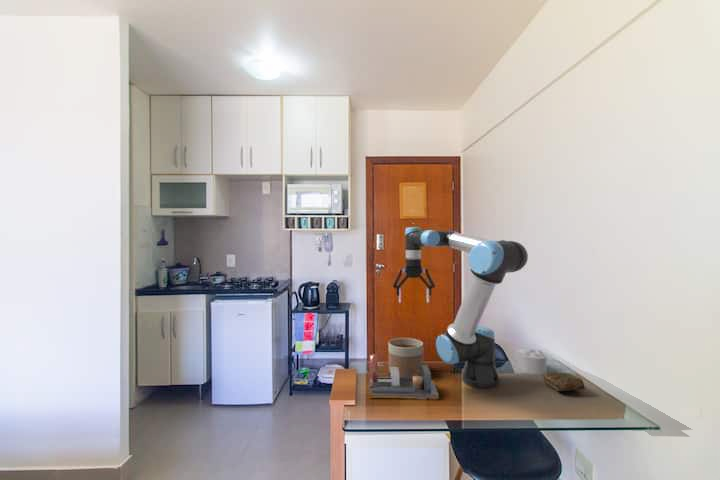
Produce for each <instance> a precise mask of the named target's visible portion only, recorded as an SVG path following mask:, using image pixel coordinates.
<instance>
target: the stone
mask: <svg viewBox="0 0 720 480" xmlns="http://www.w3.org/2000/svg"><path fill="white" fill-rule="evenodd" d="M542 376H543V379H544V383H545V384H546V385H548V386H550V388H552V389H554V390H555V391H557V392H564V391H569V392H570V391H581V390H585V389H586V387H585V383H584V380H583V379H582V378H580V377H578V376H574V375H573V374H570V373H567V372H557V371H550V372H547V373H546V374H542Z"/></svg>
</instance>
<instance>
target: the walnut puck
mask: <svg viewBox="0 0 720 480" xmlns="http://www.w3.org/2000/svg"><path fill="white" fill-rule="evenodd" d="M412 380H413V387H414V388H416V389H421V388H423V377H421V376H413V378H412Z"/></svg>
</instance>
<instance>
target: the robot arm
mask: <svg viewBox="0 0 720 480" xmlns="http://www.w3.org/2000/svg"><path fill="white" fill-rule="evenodd" d="M404 237H405V238H404V239H405V241H404V242H405V244H404V245H405V258H406V260H405V268H399V270H398V274H397V277H396V278H395V281H394V283H393V285H392V287H393V289H394V288H395V289H396V296H397V297H398V303H400V304H401V303H402V294H401V293H402V289H401V287H402V286H403V284H405V282H406V281H407V280H408V279H413V278H414V279H418V278H419V279H420V280H421V282H423V283H424V285H425V286H426V287H427V288H426V302H427V303H430V296H432V289H433V288H434V289H435V288H436V285H435V283H434V282H433V279H432V278H431V275H430V274H429V269H428V268H422V247H425V248H426V247H428V248H429V247H430V248H433V247H447V248H451V249H454V250H458V251H461V252H465V253H469V255H468V261H469V263H468V265H469V267H470V273H471V275H472V277H471V280H469V284H468V286H467V289H466V291H465V294H464V297H463V299H462V301H461V304H460V306H459V309H458V311H457V314H456V317H455V319H454V321H453V323H450V324H449V325H448V326H447V328H446V331H445V333H444V334H443V333H442V334H440V335H438V336H437V338H436V340H435V347H436V352H437V353H438V354H437V355H438V356H439V357H440V359H441V360H442V361H443V362H444V363H445V364H447V365H454V364H455V365H457V364H460V363H464V362H465V364H464V366H463V371H462V372H461V380H462V382H463V383H464V384H466V385H469V386H471V387H474V388H477V389H478V388H479V389H494V388H497V387H499V386H500V376H499V373H498V371H497V367H496V356H495V355H496V351H495V350H496V349H495V346H496V345H495V340H496V339H495V332H494V330H493V329H491V328H490V327H489V328H488V327H485V326H480V325H479V324H480V321H481V320H482V318H483V317H482V316H483V314H484V312H485V310H486V308H487V305H488V304H489V301H490V299H491V297H492V295H493V292H494V289H495V287H496V286H497V285H501V284H502V282H503V280H504V278H505V275H506V274H508V273H515V272H518V271H521V270H522V269H523V268H524V267H525V266H526V264H527V262H528V259H529V256H528V255H529V254H528V251H527V249H526V247H525V246H524V245H522V244H521V243H520V242H518V241H513V240H504V239H502V240H492V239H487V238H483V237H479V236H475V235H469V234H465V233H461V232H460V233H459V232H458V231H456V230H435V229H434V230H433V229H426V230H422V229H421V227H418V226H416V227H415V226H412V227H411V226H409V227H406V228H405V233H404ZM404 273H405V274H406V275H405V276H404V277H403V278H402V279H401V277H402V275H403V274H404ZM422 273H423V274H425V275H426V278H427V280H428V282H429V283H428V282H427V281H426V279H425V278H424V277H423V276H422V275H421V274H422ZM400 279H401V280H400ZM399 281H400V282H399Z"/></svg>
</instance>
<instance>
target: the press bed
mask: <svg viewBox="0 0 720 480" xmlns="http://www.w3.org/2000/svg"><path fill="white" fill-rule="evenodd" d="M421 377H423V388H421V389H416V388H414V387H413V378H411V377H399V384H400V387H370V386H369V395H375V396H400V397H417V398H429V397H432V398H433V397H436V398H439V399H440V397H439V395H440V394H439V392H438V390H437V388H436V385H435V382H434V380H433V379H432V373H431V371H430V368H429V366H428V365H427V364H423V365H421ZM378 379H391V376H378Z"/></svg>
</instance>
